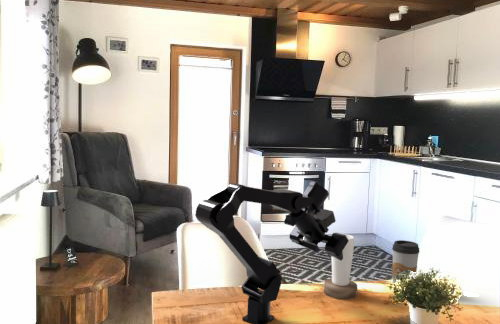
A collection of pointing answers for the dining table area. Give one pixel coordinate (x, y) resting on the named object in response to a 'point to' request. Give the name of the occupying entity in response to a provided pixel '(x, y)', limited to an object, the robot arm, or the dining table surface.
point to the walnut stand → (340, 290)
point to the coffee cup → (404, 257)
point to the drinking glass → (343, 264)
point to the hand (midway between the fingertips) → (329, 255)
